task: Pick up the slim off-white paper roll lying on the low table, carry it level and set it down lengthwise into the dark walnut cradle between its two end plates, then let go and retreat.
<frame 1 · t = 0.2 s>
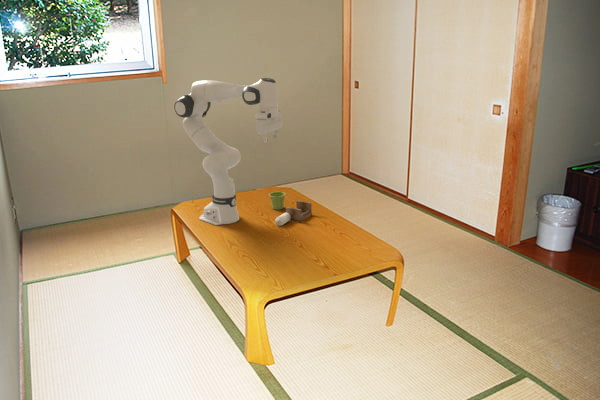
hand: (270, 140, 262), 47 cm above the table, fingers open, 8 cm apart
walnut cradle: (299, 217, 293), on the table
paper roll: (283, 223, 284), on the table
plant pot: (277, 208, 307), on the table
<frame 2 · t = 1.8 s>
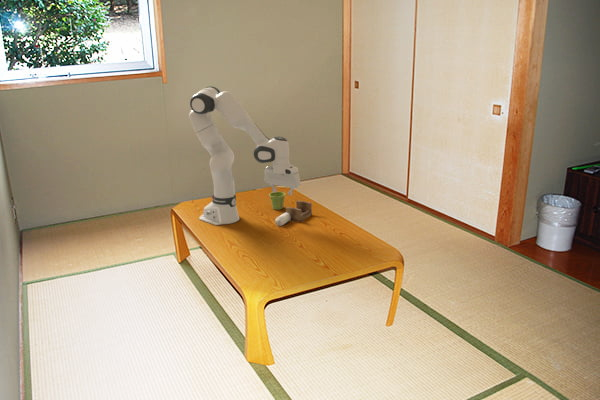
hand: (282, 193, 279), 17 cm above the table, fingers open, 8 cm apart
nothing on the table moved.
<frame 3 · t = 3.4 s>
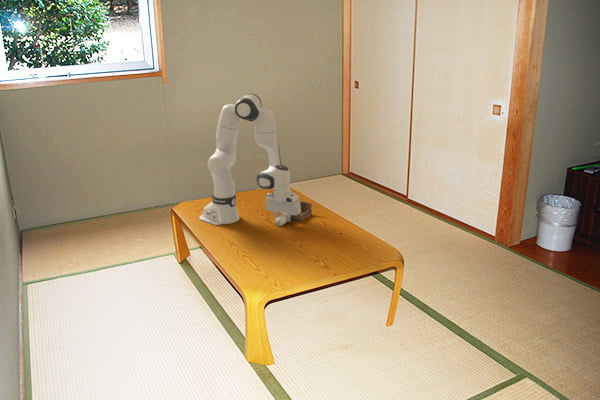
hand: (283, 220, 284), 2 cm above the table, fingers closed on paper roll, 5 cm apart
paper roll: (283, 223, 284), on the table, touching gripper
everything else where it was.
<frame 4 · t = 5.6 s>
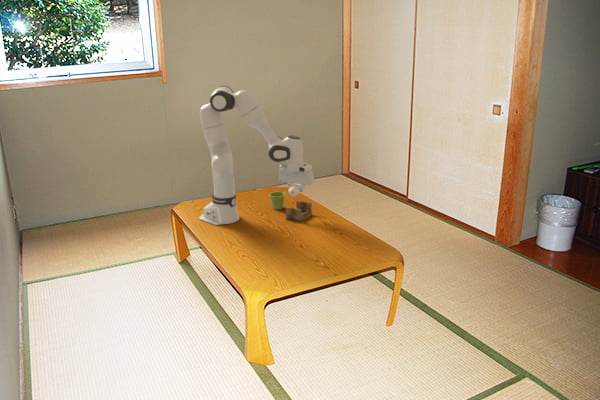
hand: (296, 190, 286), 16 cm above the table, fingers closed on paper roll, 5 cm apart
paper roll: (296, 193, 286), point 14 cm above the table, touching gripper
everything else where it was.
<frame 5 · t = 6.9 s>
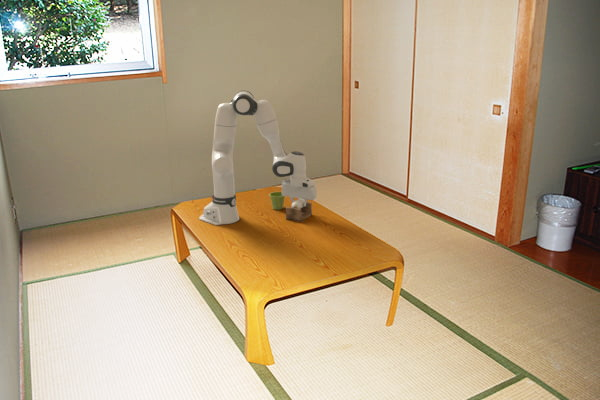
hand: (299, 205, 291), 7 cm above the table, fingers closed on paper roll, 5 cm apart
paper roll: (299, 208, 291), point 5 cm above the table, touching gripper
everything else where it was.
when the fingers open (4 cm above the table, at t = 7.7 s): paper roll drops 1 cm, resting on walnut cradle.
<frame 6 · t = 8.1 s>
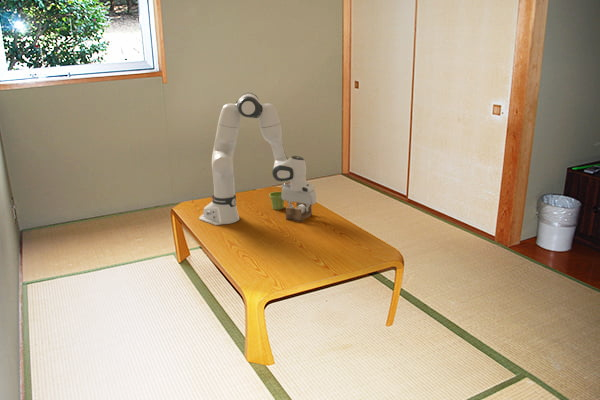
hand: (298, 209, 291), 4 cm above the table, fingers open, 8 cm apart
paper roll: (298, 214, 292), point 1 cm above the table, tilted 6°, touching walnut cradle
everything else where it was.
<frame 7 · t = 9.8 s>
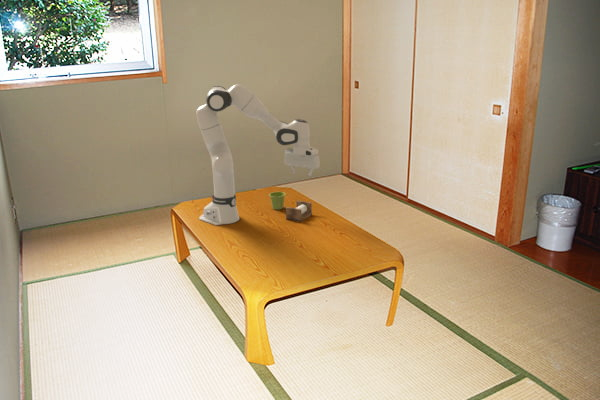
hand: (301, 174, 287), 24 cm above the table, fingers open, 8 cm apart
paper roll: (298, 214, 292), point 1 cm above the table, tilted 17°, touching walnut cradle
everything else where it was.
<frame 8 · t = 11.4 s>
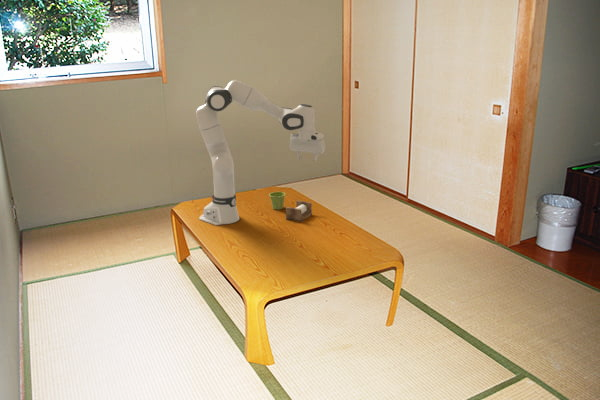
hand: (307, 159, 287), 31 cm above the table, fingers open, 8 cm apart
nothing on the table moved.
at the end: paper roll 0.1 cm off-centre on the walnut cradle, point 1.2 cm above the walnut cradle's base; the gripper is holding nothing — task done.
